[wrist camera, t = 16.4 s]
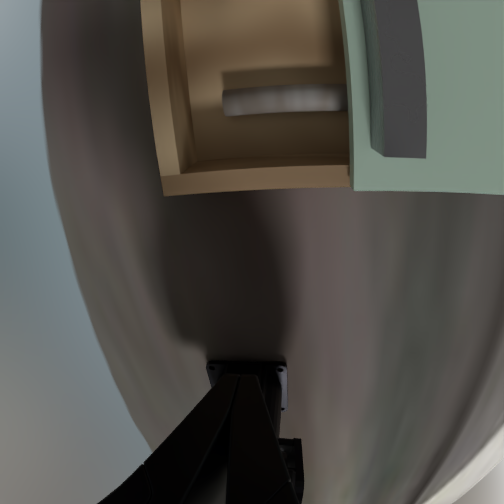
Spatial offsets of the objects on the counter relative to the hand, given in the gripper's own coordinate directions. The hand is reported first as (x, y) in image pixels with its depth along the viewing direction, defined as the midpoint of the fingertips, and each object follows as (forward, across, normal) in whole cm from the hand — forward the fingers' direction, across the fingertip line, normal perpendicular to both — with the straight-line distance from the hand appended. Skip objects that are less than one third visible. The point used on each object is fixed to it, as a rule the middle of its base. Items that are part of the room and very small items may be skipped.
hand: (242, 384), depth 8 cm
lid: (+8, -12, -9) cm, 17 cm away
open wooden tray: (+12, -3, -9) cm, 16 cm away
